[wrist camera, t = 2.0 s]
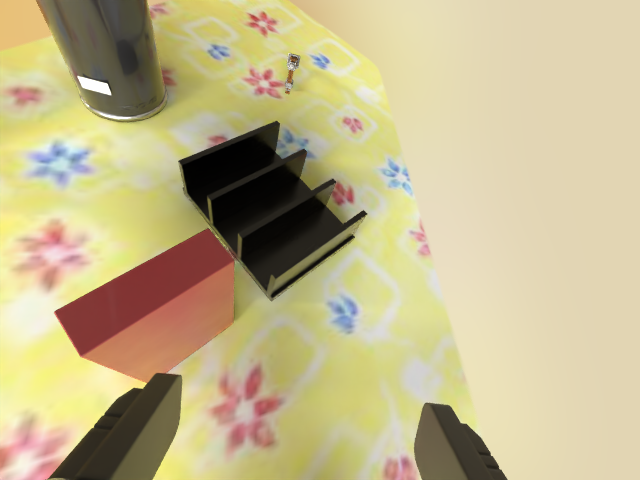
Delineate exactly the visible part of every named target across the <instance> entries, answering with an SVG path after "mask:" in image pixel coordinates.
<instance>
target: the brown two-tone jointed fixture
mask: <svg viewBox="0 0 640 480" xmlns="http://www.w3.org/2000/svg"><path fill="white" fill-rule="evenodd" d="M299 61H300V56H298V55H295V54H291V53H289V56H288V62H287V66H288V69H289V75H288V78H287V79H286V84H285V86H286V92H285V93H286V94H290V89H291V88H292V85H293V79H292V76H293V71H295V69H296V68H297V69H298V66H299Z"/></svg>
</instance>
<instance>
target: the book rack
mask: <svg viewBox="0 0 640 480" xmlns="http://www.w3.org/2000/svg"><path fill="white" fill-rule="evenodd" d="M279 128H280V123H279V122H278V121H275V122H273V123H270V124H268V125H265V126H263V127H260V128H258V129H255V130H253V131H250V132H248V133H246V134H243V135H241V136H238V137H236V138H233V139H231V140H228V141H226V142H224V143H221V144H219V145H216V146H214V147H211V148H209V149H206V150H204V151H201V152H199V153H197V154H194V155H192V156H189V157H187V158H184V159H182V160H179V161H178V162H179V167H180V171H181V176H182V181H183V186H184V187H183V191H184V194H185V195H186V196H187V198H188V199H189V200H190V201H191V202H192V204H193V205H194V206H195V207H196V209H197V210H198V211H199V212H200V214H201V215H202V216H203V217H204V219H205V220H206V221H207V222H208V224H209V225H210V226H211V227H212V229H213V230H214V231H215V232H216V234H217V235H218V236H219V237H220V239H221V240H222V241H223V242H224V244H225V245H226V246H227V247H228V249H229V250H230V251H231V252H232V254H233V255H234V256H235V257H236V259H237V260H238V261H239V262H240V263H241V265H242V266H243V267H244V268H245V270H246V271H247V272H248V273H249V275H250V276H251V277H252V278H253V280H254V281H255V282H256V283H257V285H258V286H259V287H260V288H261V290H262V291H263V292H264V293H265V295H266V296H267V297H268V298H269V300H270V301H273V300H274V299H276V298H277V297H278V296H280V295H281V294H282V293H284V292H285V291H286V290H288V289H289V288H290V287H292V286H293V285H294V284H296V283H297V282H298V281H300V280H301V279H302V278H304V277H305V276H306V275H308V274H309V273H310V272H312V271H313V270H314V269H316V268H317V267H318V266H320V265H321V264H322V263H324V262H325V261H326V260H328V259H329V258H330V257H332V256H333V255H334V254H336V253H337V252H338V251H340V250H341V249H342V248H344V247H345V246H346V245H348V244H349V243H350V242H352V241H353V239H354V238H355V237H354V233H355V232H356V230H357V229H358V227H359V226H360V224H361V223H362V221H363V220H364V218H365V217H366V215H367V213H366V212H365V211H364V210H363V211H361V212H360V213H359V214H357V215H356V216H354V217H353V218H351V219H350V220H348V221H347V222H346V223H344V224H342V223H341V222H340V221H339V219H338V218H337V217H336V216H335V215H334V214H333V213H332V212H331V211H330V210H329V209H328V208H327V207H326V204H327V202H328V200H329V198H330V195H331V193H332V191H333V189H334V186H335V184H336V181H335V180H334V179H331V180H329V181H328V182H326V183H324V184H322V185H321V186H319V187H317V188H315V189H314V190H312V191H311V190H310V188H309V187H308V186H307V185H306V184H305V183H304V182H303V181H302V180H301V179H300V176H301V173H302V169H303V166H304V162H305V159H306V155H307V151H306V150H305V149H302V150H300V151H298V152H296V153H294V154H292V155H290V156H288V157H286V158H284V159H281V157H280V156H279V155H278V154H277V153H276V146H277V140H278V134H279Z"/></svg>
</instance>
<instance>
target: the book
mask: <svg viewBox="0 0 640 480" xmlns="http://www.w3.org/2000/svg"><path fill="white" fill-rule="evenodd" d="M54 314H55V315H56V317H57V319H58V320H59V322H60V324H61V325H62V327H63V329H64V330H65V332H66V334H67V335H68V337H69V339H70V340H71V342H72V344H73V345H74V347H75V349H76V350H77V352H78V354H79V355H80V357H82V358H85V359H87V360H90V361H92V362H95V363H97V364H100V365H103V366H105V367H108V368H110V369H113V370H115V371H118V372H120V373H123V374H125V375H128V376H130V377H133V378H135V379H138V380H141V381H143V382H146V383H148V382H149V381H150V379H151V378H152V377H153V376H154V374H156V373H167V372H168V371H169V370H171V369H172V368H173V367H175V366H176V365H177V364H179V363H180V362H182V361H183V360H184V359H186V358H187V357H188V356H190V355H191V354H192V353H194V352H195V351H197V350H198V349H199V348H201V347H202V346H203V345H205V344H206V343H207V342H209V341H210V340H211V339H213V338H214V337H216V336H217V335H218V334H220V333H221V332H222V331H224V330H225V329H226V328H228V327H229V326H231V325H232V324H233V323H234V259H233V258H232V256H231V255H230V254H229V253H228V251H227V250H226V249H225V248H224V246H223V245H222V244H221V243H220V241H219V240H218V239H217V238H216V236H215V235H214V234H213V233H212V232H211V231H210V229H209V228H207V229H206V230H204V231H202V232H200V233H198V234H196V235H195V236H193V237H191V238H189V239H187V240H185V241H183V242H182V243H180V244H178V245H176V246H174V247H172V248H171V249H169V250H167V251H165V252H163V253H161V254H159V255H158V256H156V257H154V258H152V259H150V260H148V261H147V262H145V263H143V264H141V265H139V266H137V267H135V268H134V269H132V270H130V271H128V272H126V273H124V274H123V275H121V276H119V277H117V278H115V279H113V280H111V281H110V282H108V283H106V284H104V285H102V286H100V287H99V288H97V289H95V290H93V291H91V292H89V293H88V294H86V295H84V296H82V297H80V298H78V299H76V300H75V301H73V302H71V303H69V304H67V305H65V306H64V307H62V308H60V309H58V310H56V311H55V312H54Z"/></svg>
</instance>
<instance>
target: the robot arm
mask: <svg viewBox="0 0 640 480" xmlns="http://www.w3.org/2000/svg"><path fill="white" fill-rule="evenodd" d="M36 1H37V4H38V6H39V8H40V10H41V12H42V14H43V16H44V18H45V21H46V23H47V24H48V27H49V29H50V31H51V33H52V35H53V37H54V40H55V42H56V44H57V46H58V48H59V50H60V52H61V54H62V57H63V59H64V61H65V63H66V65H67V67H68V69H69V72H70V74H71V76H72V78H73V80H74V82H75V85H76V87H77V89H78V91H79V95H80V97H81V99H82V102H83V104H84V105H85V106H86V108H87V109H88V110H90V111H91V112H92V113H94V114H95V115H97V116H99V117H102V118H105V119H108V120H112V121H119V122H133V121H140V120H144V119H147V118H150V117H152V116H154V115H156V114H157V113H159V112H160V111H161V110H162V109H163V108H164V106H165V105H166V102H167V91H166V87H165V85H164V81H163V76H162V71H161V65H160V60H159V55H158V50H157V45H156V41H155V36H154V31H153V26H152V21H151V16H150V11H149V6H148V2H147V0H36ZM181 393H182V376H181V375H175V374H166V373H156V374H154V376H153V377H152V378H151V379H150V381H149V382H148V383H147V384H146V386H145V387H144V388H143V389H139V388H133V389H132V390H130V391H129V392H127V393H126V394H124V395H122V396H121V397H119V398H118V399H117V400H116V401H115V402H114V403H113V404H112V405H111V407H110V408H109V409H108V410H107V411H106V412H105V415H104V416H102V417H101V418H100V419H99V420H98V422H97V423H96V424H95V426H94V428H92V429H91V430H90V431H89V432H88V433H87V434H86V436H85V437H84V438H83V439H82V440H81V441H80V443H79V444H78V445H77V446H76V447H75V448H74V449H73V451H72V452H71V453H70V454H69V455H68V456H67V458H66V459H65V460H64V461H63V462H62V463H61V465H60V466H59V467H58V468H57V469H56V470H55V472H54V473H53V474H52V475H51V476H50V477H49V478H48V479H47V480H152V479H153V477H154V476H155V474H156V472H157V470H158V468H159V466H160V464H161V462H162V460H163V458H164V456H165V454H166V452H167V451H168V449H169V447H170V445H171V443H172V441H173V439H174V437H175V434H176V432H177V428H178V425H179V420H180V410H181ZM414 453H415V460H416V464H417V467H418V469H419V472H420V475H421V478H422V480H507V478H506V477H505V475H504V473H503V472H502V470H500V469H499V466H498V464H497V462H496V461H495V459H494V458H493V456H491V453H490V451H489V450H488V448H487V447H486V445H485V443H484V442H483V440H482V439H481V437H480V436H478V435H477V434H476V433H475V432H474V431H473V430H472V429H471V428H470V427H469V426H468V425H467V424H462V423H460V421H459V419H458V418H457V416H456V414H455V413H454V411H453V409H452V408H451V407H450V406H449V405H444V404H435V403H425V404H424V406H423V409H422V413H421V417H420V421H419V425H418V430H417V434H416V438H415V444H414Z"/></svg>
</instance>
